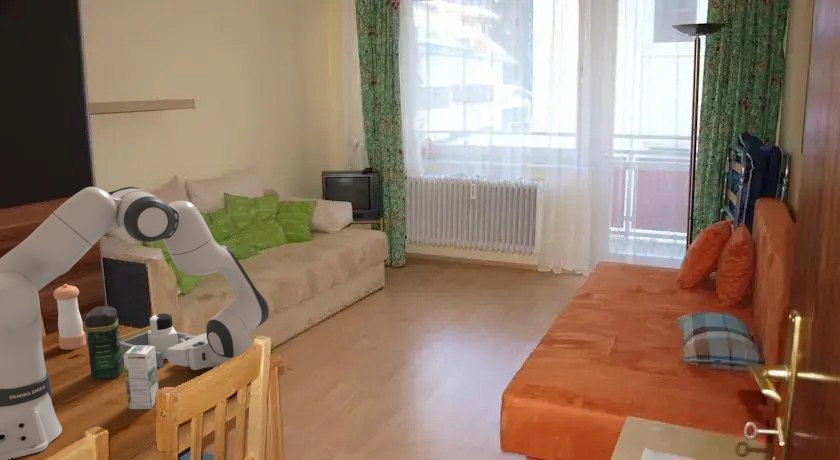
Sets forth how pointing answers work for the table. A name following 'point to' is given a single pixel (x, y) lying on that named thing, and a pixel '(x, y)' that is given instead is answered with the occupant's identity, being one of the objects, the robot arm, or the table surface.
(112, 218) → the robot arm
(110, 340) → the coffee jar
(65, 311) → the salt shaker
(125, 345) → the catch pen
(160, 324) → the medicine bottle
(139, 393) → the syrup box
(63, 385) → the table surface
